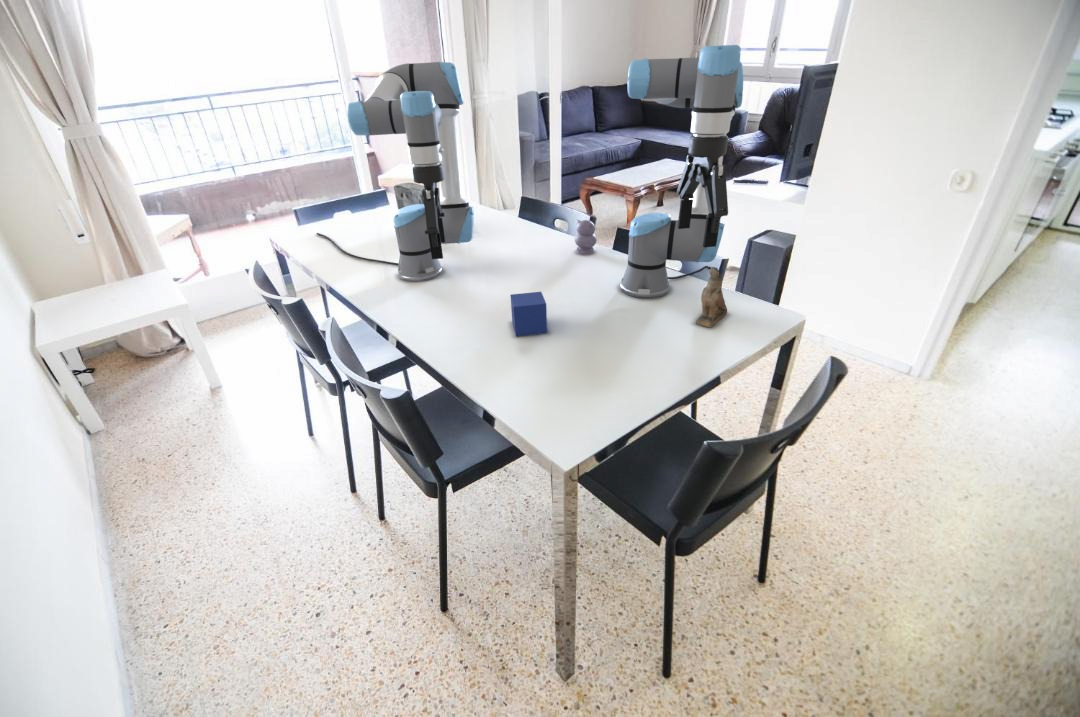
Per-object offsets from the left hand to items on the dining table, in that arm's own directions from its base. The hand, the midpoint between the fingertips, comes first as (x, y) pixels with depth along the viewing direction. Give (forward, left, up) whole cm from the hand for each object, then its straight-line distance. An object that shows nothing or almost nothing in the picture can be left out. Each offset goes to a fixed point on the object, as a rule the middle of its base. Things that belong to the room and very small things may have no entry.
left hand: (439, 250), depth 130 cm
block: (+22, +5, -22) cm, 32 cm away
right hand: (+63, +7, +6) cm, 64 cm away
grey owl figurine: (+20, +69, -22) cm, 75 cm away
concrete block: (-53, +70, -22) cm, 91 cm away
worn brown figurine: (+69, +26, -22) cm, 77 cm away
